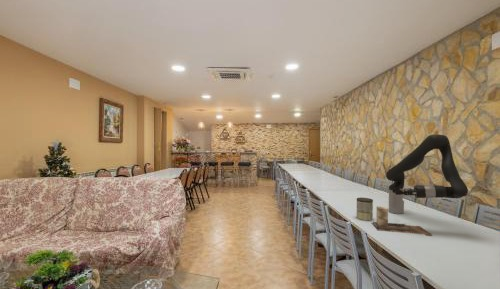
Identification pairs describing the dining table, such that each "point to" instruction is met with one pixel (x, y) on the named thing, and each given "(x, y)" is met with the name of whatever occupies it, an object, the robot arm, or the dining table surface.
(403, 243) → the dining table surface
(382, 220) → the birch block
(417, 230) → the board
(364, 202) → the coffee can
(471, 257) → the dining table surface
